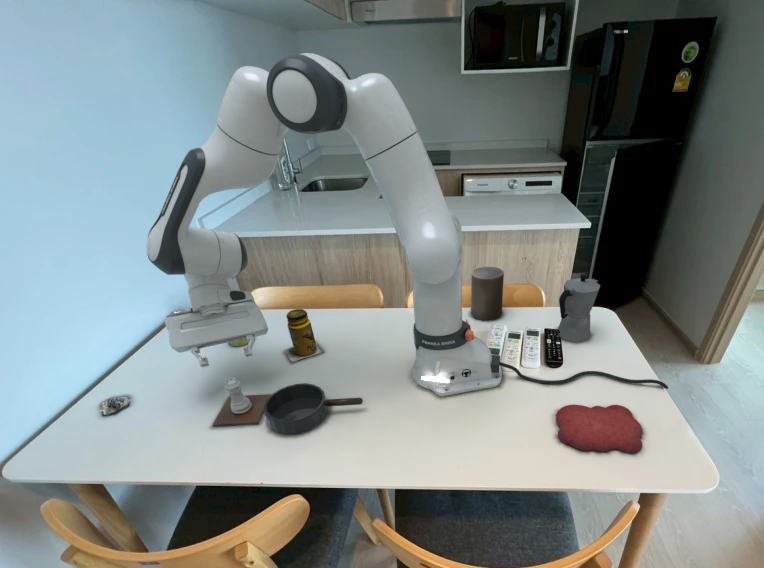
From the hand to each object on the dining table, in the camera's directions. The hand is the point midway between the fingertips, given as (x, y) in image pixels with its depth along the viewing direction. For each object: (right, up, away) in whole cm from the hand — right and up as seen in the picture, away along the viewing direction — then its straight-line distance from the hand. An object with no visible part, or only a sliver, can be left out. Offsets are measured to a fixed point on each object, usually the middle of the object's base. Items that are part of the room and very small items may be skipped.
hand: (227, 360), depth 93 cm
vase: (-10, +7, +29) cm, 32 cm away
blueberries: (-30, -11, +6) cm, 33 cm away
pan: (+16, -12, +1) cm, 20 cm away
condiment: (+10, +3, +23) cm, 25 cm away
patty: (+81, -15, -6) cm, 83 cm away
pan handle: (+26, -10, 0) cm, 28 cm away
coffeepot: (+86, +8, +24) cm, 89 cm away
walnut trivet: (+2, -12, +3) cm, 12 cm away
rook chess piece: (+2, -11, +3) cm, 12 cm away
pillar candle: (+63, +16, +37) cm, 75 cm away
